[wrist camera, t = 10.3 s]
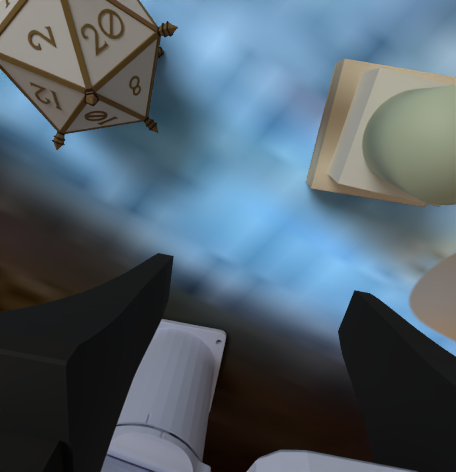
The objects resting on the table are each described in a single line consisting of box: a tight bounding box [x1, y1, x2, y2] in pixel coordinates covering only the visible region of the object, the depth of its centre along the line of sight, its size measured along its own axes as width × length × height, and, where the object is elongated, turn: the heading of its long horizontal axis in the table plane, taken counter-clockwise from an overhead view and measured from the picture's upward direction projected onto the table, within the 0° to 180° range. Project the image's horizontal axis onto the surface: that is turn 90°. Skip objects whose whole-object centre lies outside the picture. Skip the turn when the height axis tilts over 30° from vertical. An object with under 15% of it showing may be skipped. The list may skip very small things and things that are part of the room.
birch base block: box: [306, 59, 456, 207], centre depth 19 cm, size 7×7×2 cm
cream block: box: [327, 68, 453, 207], centre depth 17 cm, size 6×6×2 cm
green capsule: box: [362, 85, 456, 205], centre depth 14 cm, size 4×4×4 cm
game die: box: [0, 0, 178, 150], centre depth 15 cm, size 9×8×10 cm
